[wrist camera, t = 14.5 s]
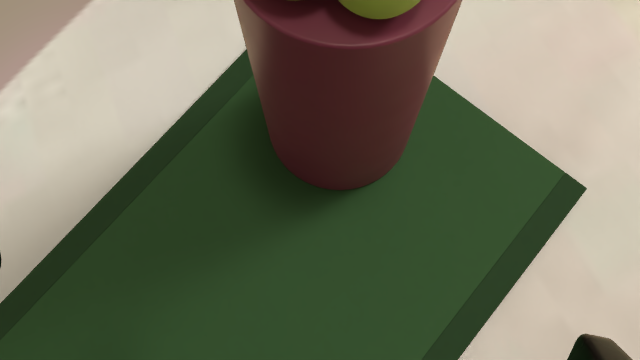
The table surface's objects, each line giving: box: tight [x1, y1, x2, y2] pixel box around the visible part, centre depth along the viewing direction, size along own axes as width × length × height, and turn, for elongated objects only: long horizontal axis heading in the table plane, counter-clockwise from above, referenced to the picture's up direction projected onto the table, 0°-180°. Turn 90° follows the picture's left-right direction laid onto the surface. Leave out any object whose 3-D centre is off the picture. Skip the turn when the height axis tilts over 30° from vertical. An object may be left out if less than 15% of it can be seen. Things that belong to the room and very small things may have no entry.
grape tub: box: [234, 0, 462, 190], centre depth 17 cm, size 6×6×14 cm
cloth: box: [0, 49, 587, 360], centre depth 23 cm, size 22×14×1 cm, turn 140°
